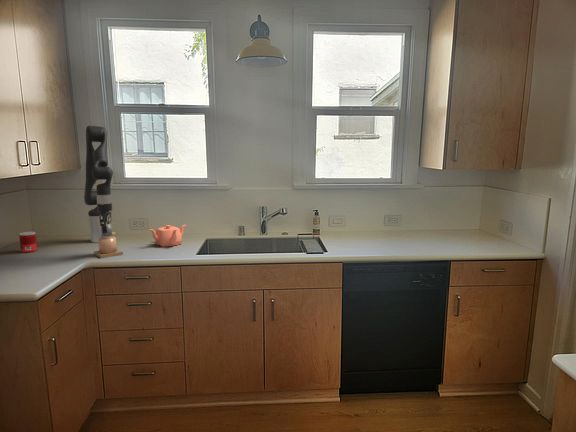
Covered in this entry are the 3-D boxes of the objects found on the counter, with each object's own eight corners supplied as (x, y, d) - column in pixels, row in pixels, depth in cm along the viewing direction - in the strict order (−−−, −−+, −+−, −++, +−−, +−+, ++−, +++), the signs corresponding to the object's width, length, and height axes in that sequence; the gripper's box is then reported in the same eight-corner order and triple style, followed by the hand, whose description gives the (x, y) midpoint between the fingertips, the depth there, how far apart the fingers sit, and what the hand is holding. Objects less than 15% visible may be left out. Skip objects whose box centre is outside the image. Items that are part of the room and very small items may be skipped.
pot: (176, 248, 231) (175, 228, 229) (149, 247, 233) (148, 227, 231) (187, 241, 249) (186, 223, 247) (161, 240, 251) (161, 222, 249)
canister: (93, 253, 217) (92, 233, 215) (115, 250, 225) (113, 230, 223) (100, 258, 209) (99, 237, 206) (122, 254, 217) (121, 234, 215)
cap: (104, 236, 211) (103, 225, 210) (99, 235, 214) (98, 224, 213) (117, 234, 217) (116, 223, 216) (112, 233, 220) (111, 222, 219)
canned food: (40, 250, 223) (38, 232, 221) (27, 253, 215) (25, 235, 214) (31, 249, 225) (29, 231, 223) (18, 252, 218) (15, 233, 216)
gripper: (101, 200, 218) (103, 229, 221) (93, 204, 204) (95, 234, 207) (115, 200, 219) (117, 229, 222) (107, 204, 205) (109, 234, 208)
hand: (106, 231), depth 214 cm, fingers closed on cap, 5 cm apart
